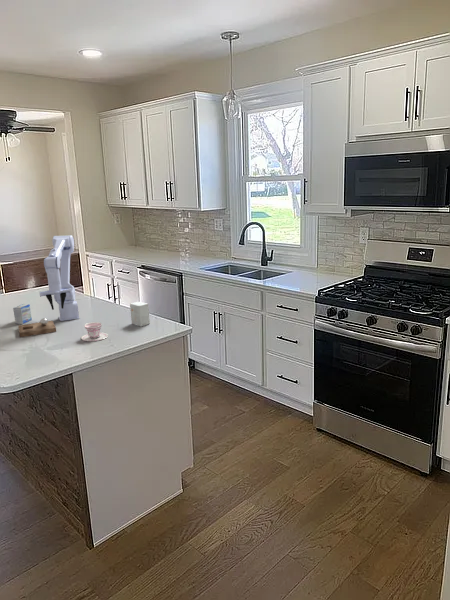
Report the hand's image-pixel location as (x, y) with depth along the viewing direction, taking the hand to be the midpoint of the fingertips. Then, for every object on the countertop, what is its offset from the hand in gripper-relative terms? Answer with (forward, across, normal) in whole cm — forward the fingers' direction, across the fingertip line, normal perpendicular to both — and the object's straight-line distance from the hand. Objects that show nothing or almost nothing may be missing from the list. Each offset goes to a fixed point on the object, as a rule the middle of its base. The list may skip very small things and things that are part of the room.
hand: (57, 308), depth 227 cm
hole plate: (+9, -10, 0) cm, 14 cm away
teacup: (+10, +12, -26) cm, 30 cm away
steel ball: (+6, -7, 0) cm, 9 cm away
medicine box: (+10, -16, +20) cm, 27 cm away
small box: (+10, +36, -16) cm, 41 cm away
